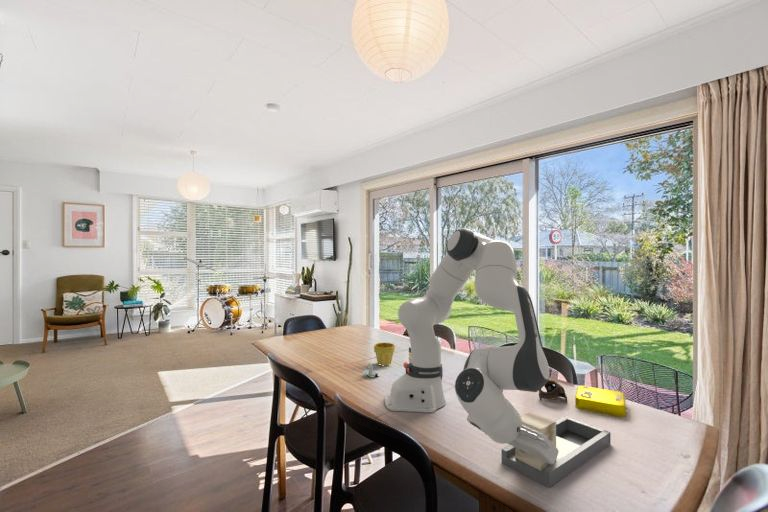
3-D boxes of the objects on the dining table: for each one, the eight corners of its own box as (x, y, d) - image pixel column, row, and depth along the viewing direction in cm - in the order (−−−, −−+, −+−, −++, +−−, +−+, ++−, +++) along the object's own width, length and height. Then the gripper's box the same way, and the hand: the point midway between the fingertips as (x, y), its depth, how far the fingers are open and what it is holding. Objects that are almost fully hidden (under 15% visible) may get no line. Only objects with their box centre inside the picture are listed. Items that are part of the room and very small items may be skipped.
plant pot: (394, 367, 174) (394, 347, 174) (373, 367, 174) (373, 347, 175) (394, 361, 185) (394, 342, 185) (374, 361, 185) (374, 342, 185)
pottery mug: (574, 406, 129) (565, 388, 128) (549, 416, 131) (540, 398, 129) (559, 386, 141) (552, 369, 139) (537, 395, 143) (529, 379, 141)
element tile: (626, 419, 118) (626, 405, 118) (574, 409, 126) (574, 396, 126) (624, 404, 131) (624, 390, 131) (578, 395, 139) (578, 383, 139)
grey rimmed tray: (549, 488, 83) (549, 472, 83) (501, 462, 93) (501, 448, 93) (610, 444, 102) (610, 432, 102) (565, 427, 113) (565, 415, 113)
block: (541, 471, 86) (540, 429, 86) (515, 457, 92) (515, 418, 92) (556, 461, 90) (556, 421, 90) (530, 449, 96) (530, 411, 96)
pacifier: (370, 373, 167) (361, 376, 162) (371, 359, 167) (361, 362, 163) (382, 376, 162) (373, 379, 158) (382, 362, 162) (373, 365, 158)
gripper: (548, 425, 76) (572, 456, 82) (473, 395, 92) (496, 423, 98) (537, 453, 73) (562, 483, 79) (461, 417, 90) (486, 444, 96)
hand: (525, 449), depth 89 cm, fingers closed
